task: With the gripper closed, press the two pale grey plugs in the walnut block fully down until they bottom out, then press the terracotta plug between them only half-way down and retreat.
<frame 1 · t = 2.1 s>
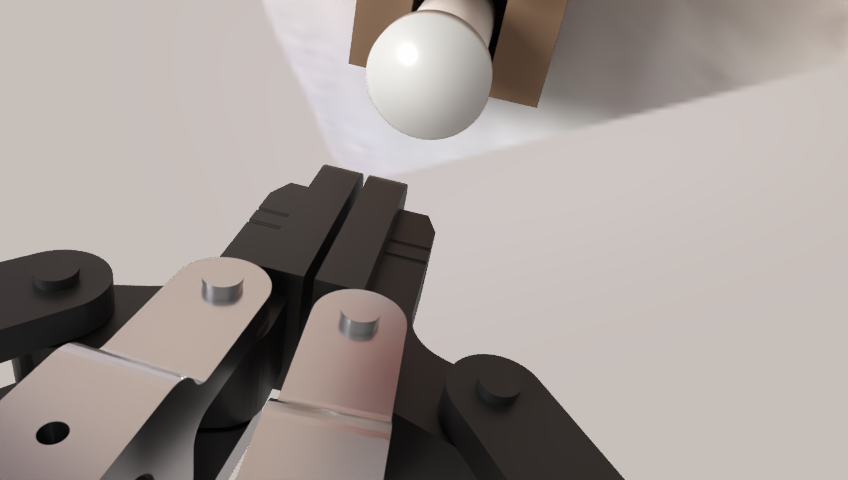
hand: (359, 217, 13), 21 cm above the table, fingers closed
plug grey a: (445, 43, 24), point 8 cm above the table, slide at 0.0 cm
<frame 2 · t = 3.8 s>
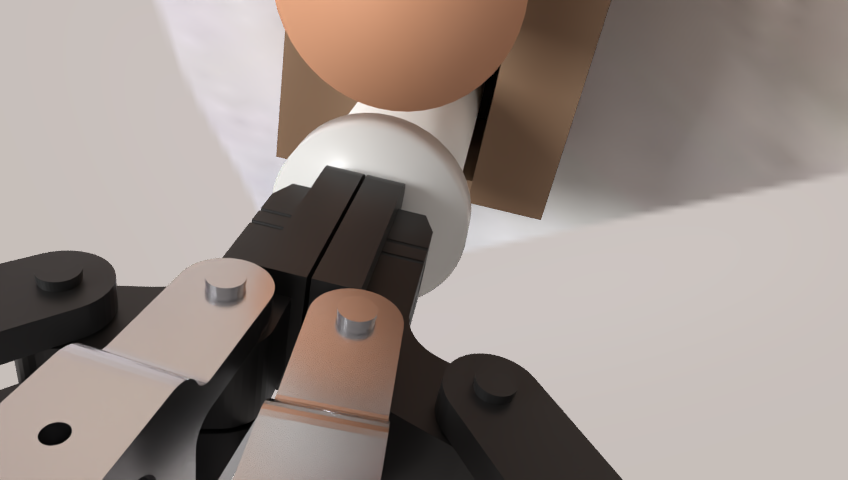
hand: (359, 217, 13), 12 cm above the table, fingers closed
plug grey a: (408, 137, 16), point 7 cm above the table, slide at 0.8 cm, touching gripper
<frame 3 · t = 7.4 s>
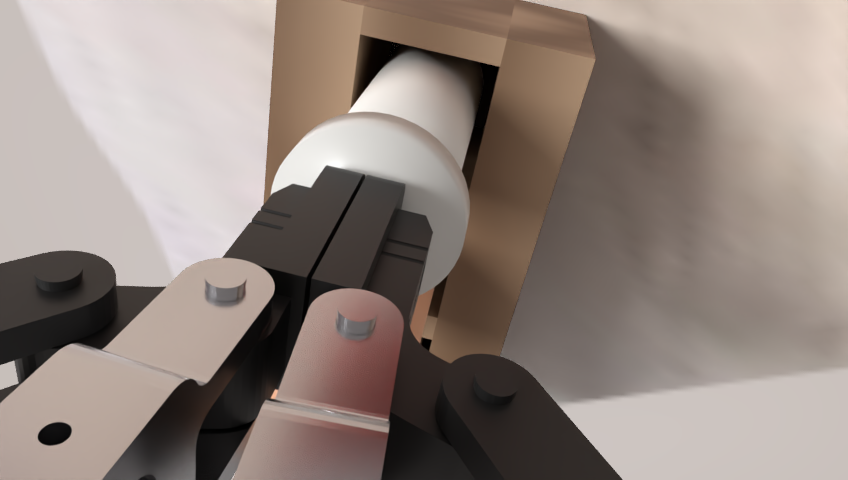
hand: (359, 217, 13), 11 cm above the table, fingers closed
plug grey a: (370, 365, 22), point 5 cm above the table, slide at 3.0 cm
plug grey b: (407, 136, 16), point 6 cm above the table, slide at 1.5 cm, touching gripper
plug terracotta: (368, 314, 17), point 8 cm above the table, slide at 0.0 cm
walnut block: (418, 185, 24), on the table
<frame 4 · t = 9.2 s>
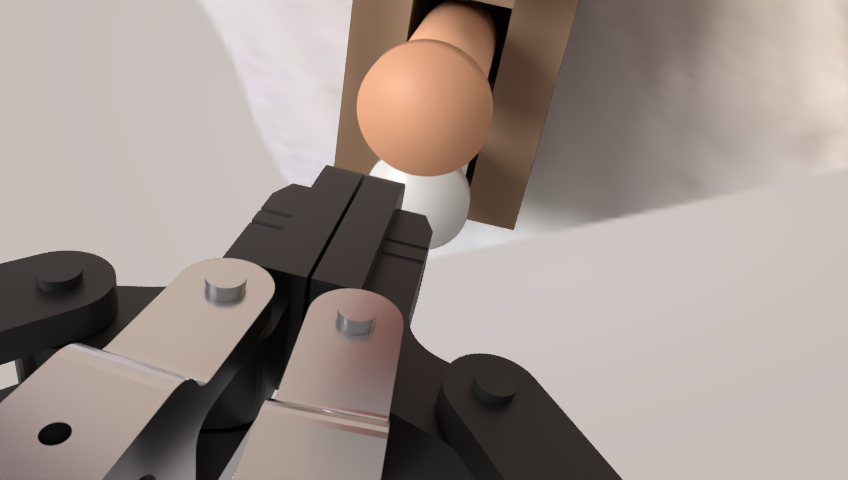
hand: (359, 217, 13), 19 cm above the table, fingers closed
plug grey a: (432, 155, 27), point 5 cm above the table, slide at 3.0 cm
plug terracotta: (443, 69, 22), point 8 cm above the table, slide at 0.0 cm
walnut block: (467, 18, 29), on the table
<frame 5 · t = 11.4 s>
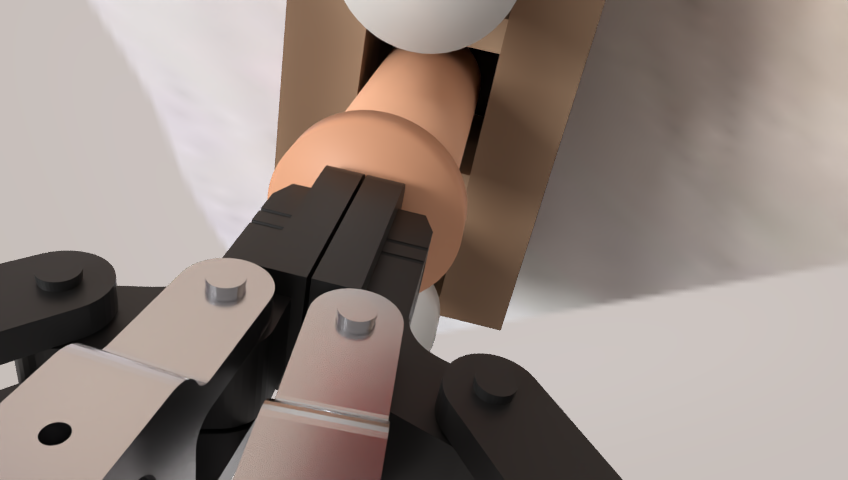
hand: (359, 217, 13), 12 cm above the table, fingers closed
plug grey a: (395, 236, 21), point 5 cm above the table, slide at 3.0 cm
plug terracotta: (405, 134, 16), point 7 cm above the table, slide at 0.5 cm, touching gripper
walnut block: (444, 55, 23), on the table
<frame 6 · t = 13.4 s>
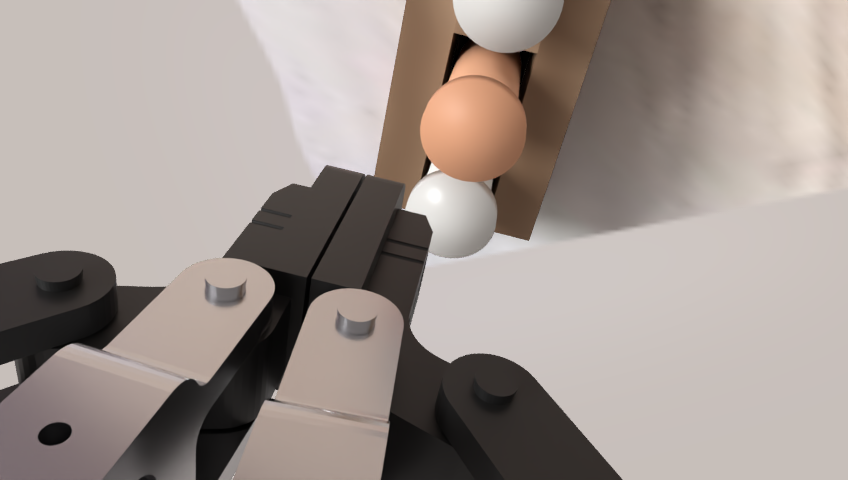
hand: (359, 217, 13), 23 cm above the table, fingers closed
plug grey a: (461, 174, 31), point 5 cm above the table, slide at 3.0 cm
plug terracotta: (482, 94, 28), point 6 cm above the table, slide at 1.4 cm
walnut block: (492, 53, 33), on the table
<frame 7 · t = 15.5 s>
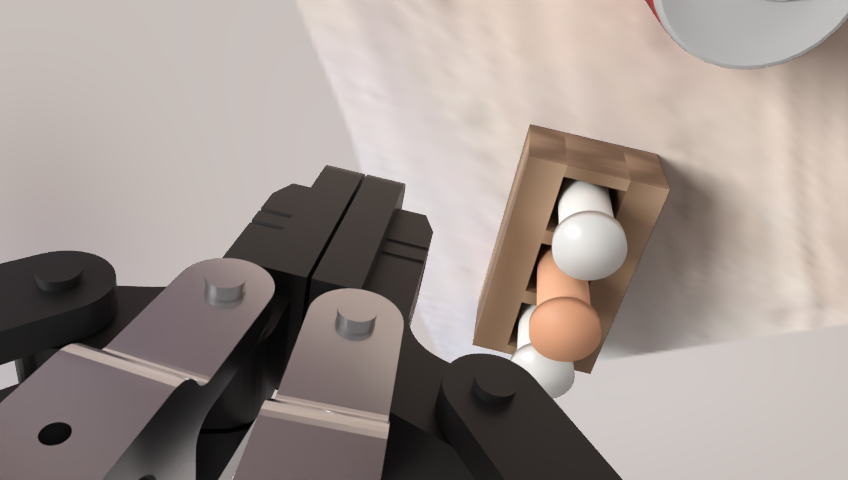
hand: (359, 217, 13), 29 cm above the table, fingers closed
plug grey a: (541, 329, 43), point 5 cm above the table, slide at 3.0 cm
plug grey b: (584, 210, 38), point 5 cm above the table, slide at 3.0 cm
plug terracotta: (562, 288, 39), point 6 cm above the table, slide at 1.4 cm
walnut block: (560, 233, 45), on the table
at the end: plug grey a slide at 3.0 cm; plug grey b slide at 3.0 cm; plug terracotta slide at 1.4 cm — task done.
